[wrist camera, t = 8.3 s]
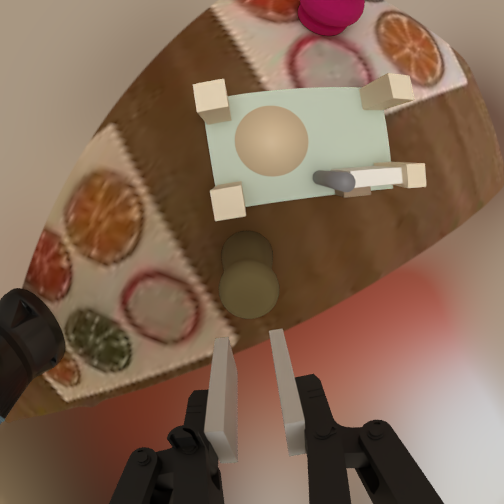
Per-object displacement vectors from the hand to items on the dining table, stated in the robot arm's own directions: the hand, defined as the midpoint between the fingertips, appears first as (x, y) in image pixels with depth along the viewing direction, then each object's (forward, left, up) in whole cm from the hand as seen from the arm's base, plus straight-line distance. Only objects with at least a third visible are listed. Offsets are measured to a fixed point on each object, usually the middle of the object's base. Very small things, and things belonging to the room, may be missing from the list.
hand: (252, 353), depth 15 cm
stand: (+8, +12, -18) cm, 23 cm away
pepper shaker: (0, 0, -18) cm, 18 cm away
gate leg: (+14, +8, -16) cm, 23 cm away
